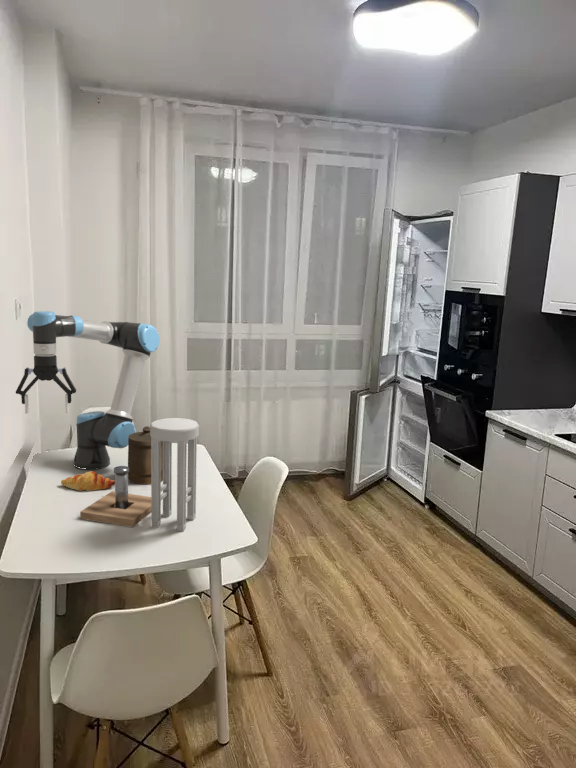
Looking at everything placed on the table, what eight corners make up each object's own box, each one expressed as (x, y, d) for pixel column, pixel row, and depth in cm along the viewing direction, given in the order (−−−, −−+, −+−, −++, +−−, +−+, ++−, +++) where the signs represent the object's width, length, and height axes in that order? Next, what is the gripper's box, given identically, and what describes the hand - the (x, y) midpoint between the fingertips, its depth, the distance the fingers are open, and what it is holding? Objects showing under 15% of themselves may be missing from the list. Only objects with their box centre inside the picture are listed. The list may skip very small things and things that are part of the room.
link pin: (119, 507, 206) (118, 465, 203) (132, 509, 205) (131, 467, 202) (111, 513, 201) (110, 469, 198) (124, 515, 200) (124, 471, 197)
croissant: (58, 497, 222) (54, 483, 217) (66, 478, 229) (62, 464, 224) (114, 498, 222) (110, 484, 217) (119, 478, 230) (116, 464, 225)
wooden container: (168, 473, 243) (168, 423, 239) (159, 485, 229) (160, 432, 225) (134, 471, 244) (133, 421, 240) (123, 483, 229) (122, 430, 225)
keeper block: (112, 497, 215) (111, 491, 214) (160, 504, 210) (160, 498, 209) (80, 518, 196) (80, 511, 195) (133, 527, 191) (133, 520, 190)
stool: (203, 516, 202) (204, 420, 195) (186, 534, 187) (187, 431, 180) (162, 510, 205) (162, 415, 198) (142, 528, 190) (142, 426, 183)
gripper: (5, 356, 199) (7, 415, 203) (81, 356, 205) (82, 413, 209) (9, 353, 206) (11, 410, 210) (82, 353, 212) (84, 409, 216)
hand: (47, 412), depth 209 cm, fingers open, 13 cm apart
